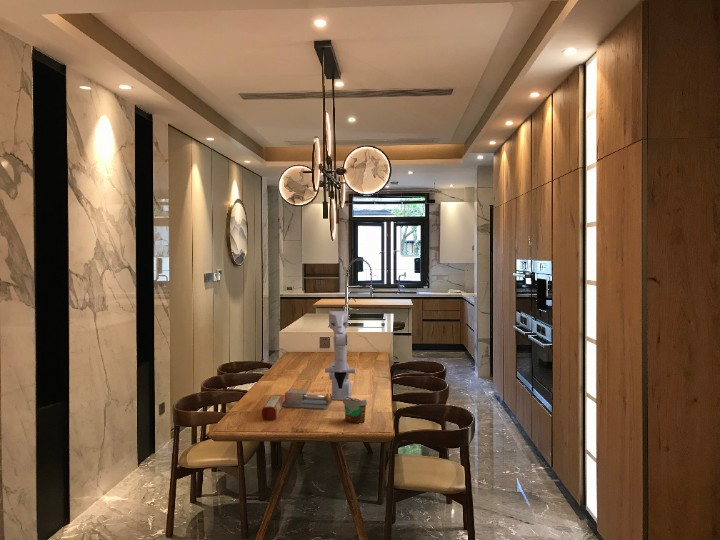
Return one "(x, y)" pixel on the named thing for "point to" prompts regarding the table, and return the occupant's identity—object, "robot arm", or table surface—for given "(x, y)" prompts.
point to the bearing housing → (295, 396)
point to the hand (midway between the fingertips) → (340, 388)
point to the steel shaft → (318, 397)
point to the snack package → (272, 408)
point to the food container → (354, 410)
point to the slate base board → (309, 405)
